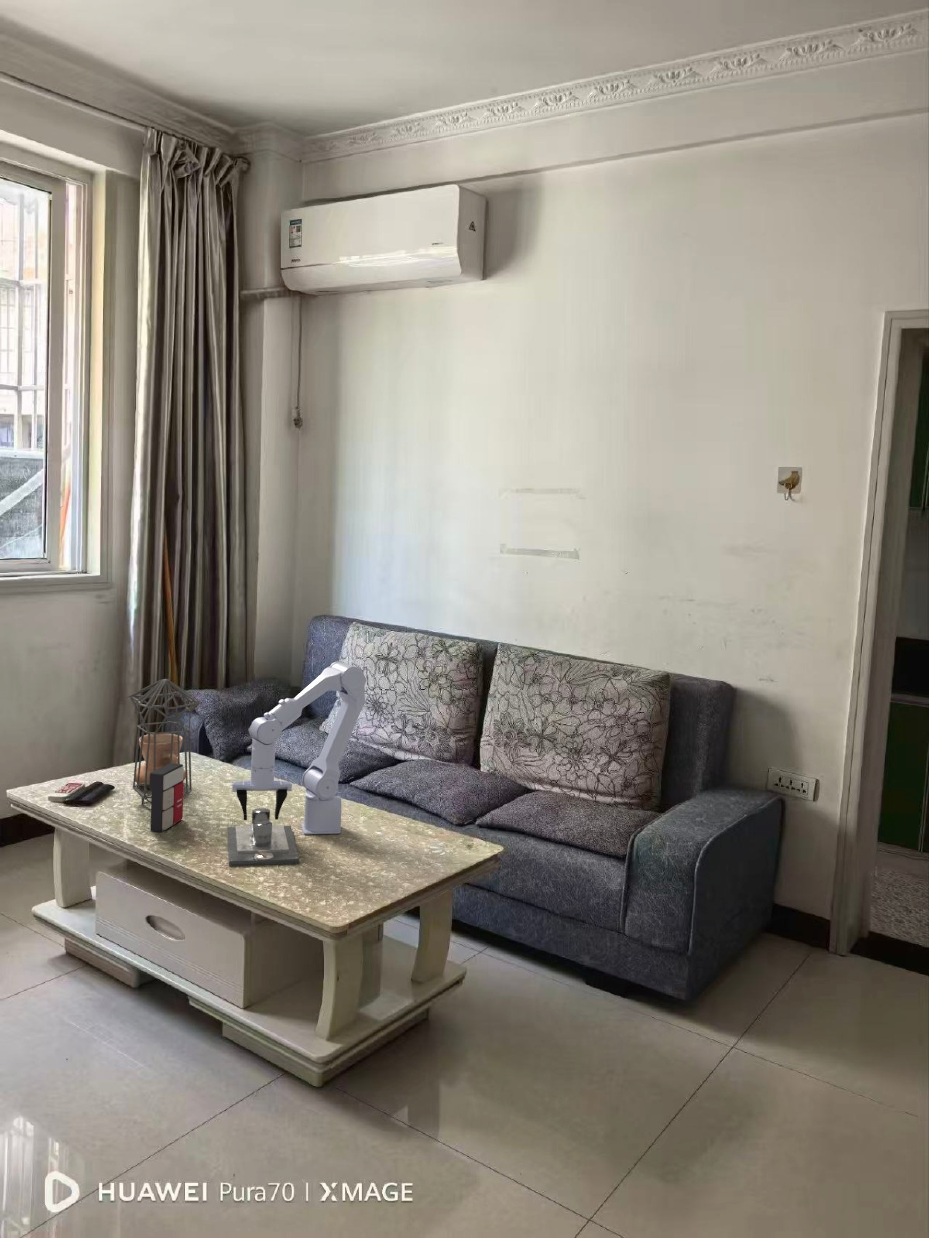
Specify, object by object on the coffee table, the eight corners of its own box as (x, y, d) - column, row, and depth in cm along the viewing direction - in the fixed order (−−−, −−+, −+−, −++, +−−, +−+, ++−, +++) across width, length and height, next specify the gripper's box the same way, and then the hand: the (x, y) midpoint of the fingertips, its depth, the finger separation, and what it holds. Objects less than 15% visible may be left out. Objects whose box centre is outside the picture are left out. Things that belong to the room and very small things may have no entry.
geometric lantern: (178, 794, 281) (181, 672, 277) (200, 810, 269) (204, 682, 265) (122, 802, 271) (125, 675, 267) (142, 818, 259) (146, 686, 255)
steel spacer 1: (268, 827, 253) (269, 808, 253) (269, 832, 249) (270, 813, 248) (251, 827, 252) (252, 808, 252) (251, 833, 248) (252, 813, 247)
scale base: (290, 830, 257) (290, 824, 257) (298, 863, 234) (299, 857, 234) (227, 831, 253) (227, 825, 253) (229, 866, 230) (229, 859, 230)
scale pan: (283, 827, 256) (283, 824, 256) (288, 851, 238) (288, 849, 238) (235, 828, 253) (235, 825, 252) (237, 853, 235) (237, 850, 235)
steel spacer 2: (266, 839, 244) (267, 819, 243) (274, 845, 240) (275, 825, 240) (249, 842, 241) (250, 822, 241) (257, 847, 238) (258, 827, 237)
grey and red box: (163, 833, 249) (165, 774, 248) (147, 830, 250) (149, 772, 248) (184, 820, 260) (186, 764, 258) (169, 818, 261) (170, 762, 259)
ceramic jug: (124, 781, 290) (125, 734, 289) (172, 775, 299) (173, 729, 298) (147, 798, 276) (149, 748, 275) (197, 791, 286) (198, 742, 284)
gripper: (291, 761, 254) (288, 812, 255) (232, 761, 250) (230, 814, 252) (293, 768, 247) (291, 821, 249) (233, 769, 243) (231, 823, 245)
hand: (260, 818), depth 250 cm, fingers open, 7 cm apart
